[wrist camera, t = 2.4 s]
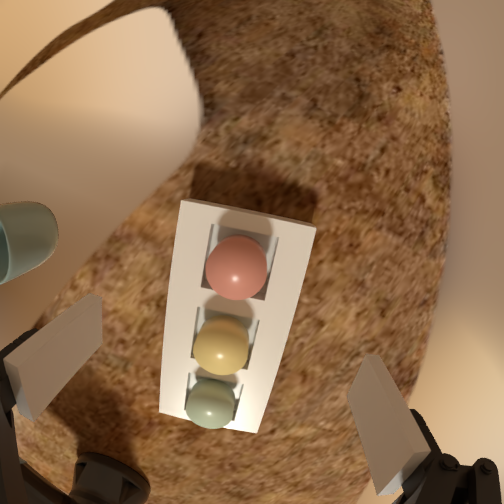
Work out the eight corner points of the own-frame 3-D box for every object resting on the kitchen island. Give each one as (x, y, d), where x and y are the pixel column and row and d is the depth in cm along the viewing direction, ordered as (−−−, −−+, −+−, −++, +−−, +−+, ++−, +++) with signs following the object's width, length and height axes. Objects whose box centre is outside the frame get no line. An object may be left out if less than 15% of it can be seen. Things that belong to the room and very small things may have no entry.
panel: (165, 397, 35) (159, 412, 32) (189, 198, 29) (181, 200, 26) (257, 417, 35) (256, 433, 32) (311, 223, 29) (316, 228, 26)
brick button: (207, 281, 28) (201, 293, 25) (216, 229, 27) (210, 235, 24) (260, 292, 28) (259, 305, 25) (272, 240, 27) (273, 248, 24)
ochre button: (196, 352, 30) (190, 368, 27) (202, 310, 29) (196, 324, 26) (244, 362, 30) (242, 379, 27) (253, 321, 29) (252, 335, 26)
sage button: (189, 405, 32) (184, 422, 29) (193, 374, 31) (187, 391, 28) (231, 414, 32) (228, 432, 29) (238, 384, 31) (236, 401, 28)
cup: (63, 192, 29) (3, 201, 20) (72, 259, 31) (17, 286, 21) (21, 202, 30) (-36, 213, 20) (29, 262, 31) (-23, 286, 22)
